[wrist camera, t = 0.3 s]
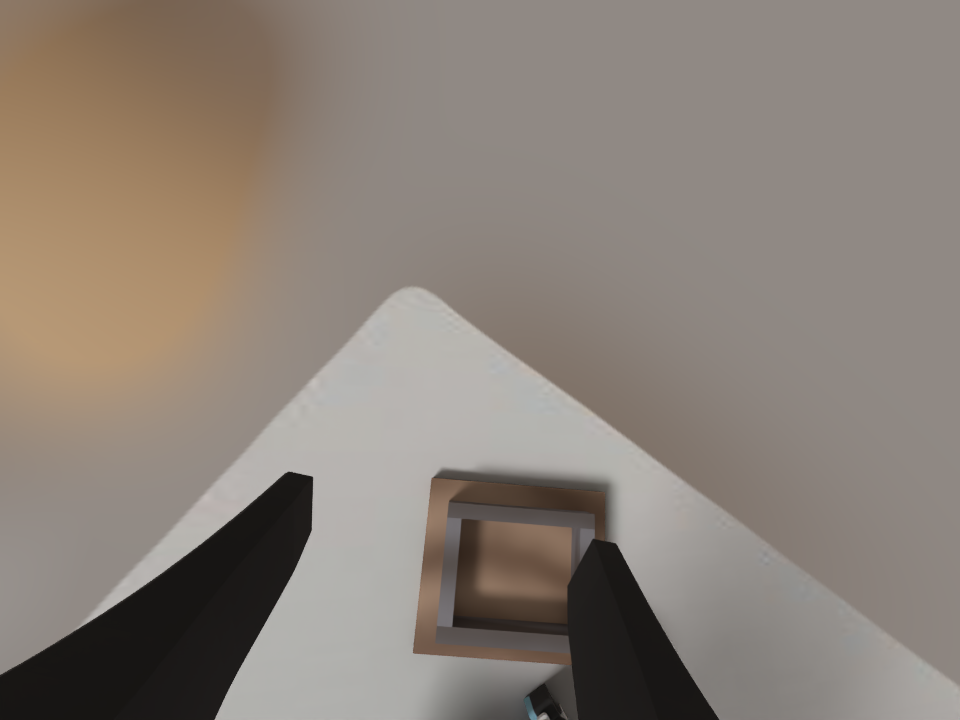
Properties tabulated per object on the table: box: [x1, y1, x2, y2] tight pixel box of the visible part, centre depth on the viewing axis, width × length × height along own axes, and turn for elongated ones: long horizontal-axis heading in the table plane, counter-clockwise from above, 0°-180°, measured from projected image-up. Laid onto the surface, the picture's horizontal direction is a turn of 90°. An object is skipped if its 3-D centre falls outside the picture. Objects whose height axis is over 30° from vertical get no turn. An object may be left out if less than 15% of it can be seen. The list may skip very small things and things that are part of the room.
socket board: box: [413, 478, 605, 665], centre depth 36 cm, size 14×16×4 cm
